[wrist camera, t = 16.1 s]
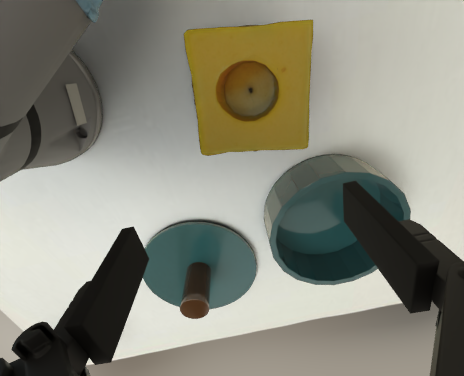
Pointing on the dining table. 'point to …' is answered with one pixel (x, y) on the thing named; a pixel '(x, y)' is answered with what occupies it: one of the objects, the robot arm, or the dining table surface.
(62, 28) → the robot arm
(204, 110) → the candle
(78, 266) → the dining table surface
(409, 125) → the dining table surface
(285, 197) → the pot
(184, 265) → the lid
